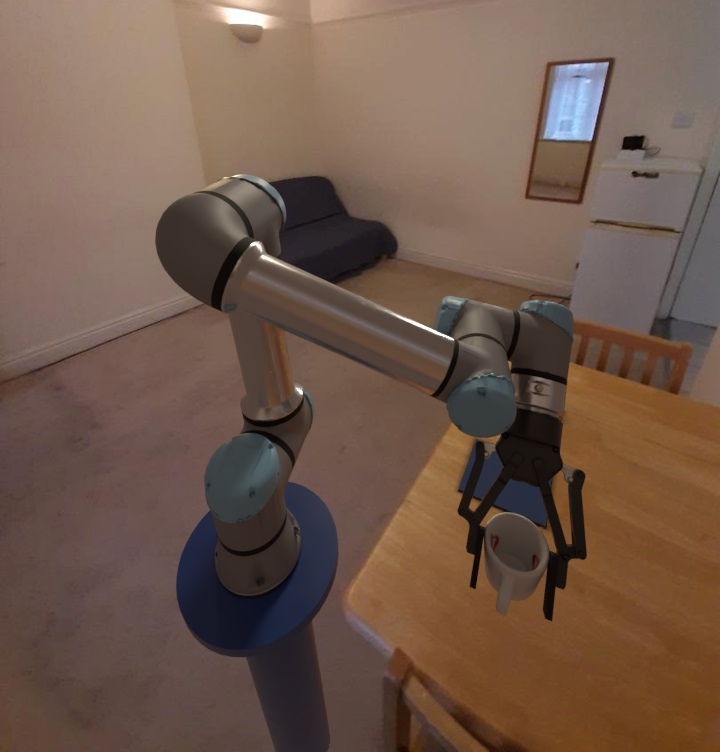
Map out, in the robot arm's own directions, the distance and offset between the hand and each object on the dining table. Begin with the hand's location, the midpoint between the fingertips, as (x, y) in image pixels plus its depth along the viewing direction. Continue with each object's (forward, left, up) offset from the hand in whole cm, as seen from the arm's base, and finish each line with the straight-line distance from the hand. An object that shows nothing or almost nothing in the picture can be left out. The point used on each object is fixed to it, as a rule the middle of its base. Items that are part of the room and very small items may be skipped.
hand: (509, 599), depth 50 cm
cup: (0, +3, -4) cm, 5 cm away
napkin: (-4, +30, -16) cm, 34 cm away
